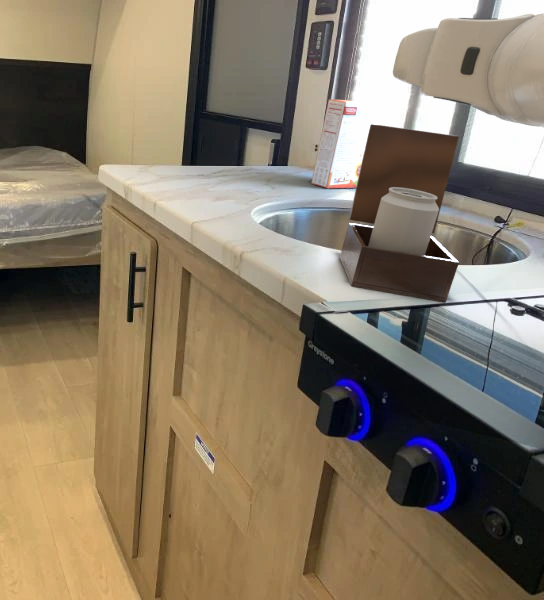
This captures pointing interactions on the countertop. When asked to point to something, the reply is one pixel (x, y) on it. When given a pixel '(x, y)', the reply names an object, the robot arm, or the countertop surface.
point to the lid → (401, 167)
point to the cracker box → (344, 142)
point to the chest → (397, 267)
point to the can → (404, 221)
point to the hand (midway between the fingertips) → (482, 70)
